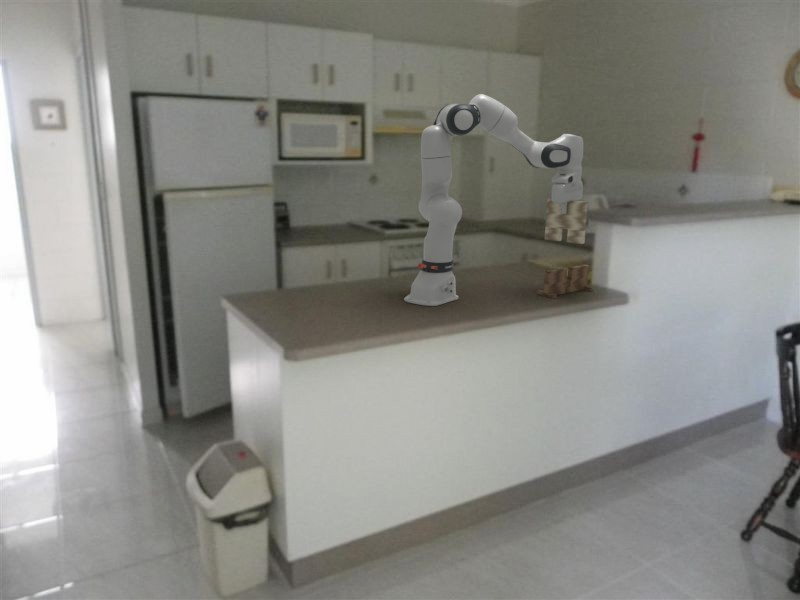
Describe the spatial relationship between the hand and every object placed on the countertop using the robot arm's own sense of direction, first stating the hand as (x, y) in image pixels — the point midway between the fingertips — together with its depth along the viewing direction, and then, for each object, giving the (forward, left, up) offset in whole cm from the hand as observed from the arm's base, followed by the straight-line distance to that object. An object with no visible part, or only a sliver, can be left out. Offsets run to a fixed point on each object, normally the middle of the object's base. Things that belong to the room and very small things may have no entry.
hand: (566, 213), depth 234 cm
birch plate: (0, 0, -11) cm, 11 cm away
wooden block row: (0, -3, -32) cm, 32 cm away
